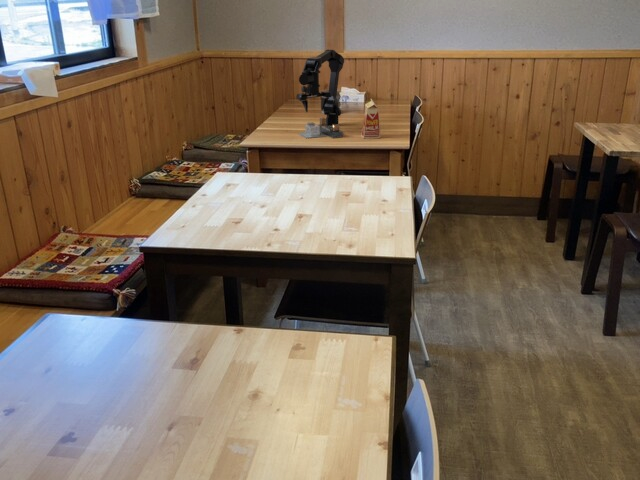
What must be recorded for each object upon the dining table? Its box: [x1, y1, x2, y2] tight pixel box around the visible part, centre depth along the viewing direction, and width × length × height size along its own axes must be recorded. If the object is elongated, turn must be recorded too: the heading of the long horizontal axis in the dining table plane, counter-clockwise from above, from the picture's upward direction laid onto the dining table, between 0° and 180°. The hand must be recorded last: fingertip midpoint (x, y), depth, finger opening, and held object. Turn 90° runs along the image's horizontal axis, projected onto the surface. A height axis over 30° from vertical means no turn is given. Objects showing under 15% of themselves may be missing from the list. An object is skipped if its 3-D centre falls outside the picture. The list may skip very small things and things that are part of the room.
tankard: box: [321, 89, 342, 115], centre depth 376 cm, size 20×13×15 cm, turn 179°
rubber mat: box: [297, 132, 328, 140], centre depth 315 cm, size 12×12×1 cm
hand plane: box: [317, 117, 344, 139], centre depth 317 cm, size 22×6×7 cm, turn 24°
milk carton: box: [360, 98, 381, 140], centre depth 307 cm, size 9×9×20 cm
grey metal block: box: [304, 122, 320, 136], centre depth 314 cm, size 8×5×6 cm, turn 24°
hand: (314, 111), depth 318 cm, fingers open, 9 cm apart
